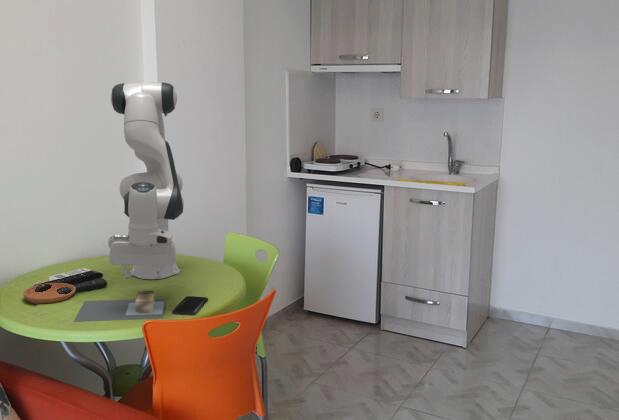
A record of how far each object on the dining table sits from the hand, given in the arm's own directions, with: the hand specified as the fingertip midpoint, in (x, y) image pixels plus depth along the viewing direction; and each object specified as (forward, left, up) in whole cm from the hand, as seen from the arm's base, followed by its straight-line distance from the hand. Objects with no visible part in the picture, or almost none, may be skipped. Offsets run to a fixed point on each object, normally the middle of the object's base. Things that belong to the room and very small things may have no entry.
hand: (143, 277), depth 192 cm
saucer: (-14, -32, -11) cm, 36 cm away
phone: (-1, +14, -11) cm, 18 cm away
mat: (+1, -7, -11) cm, 12 cm away
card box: (+1, 0, -10) cm, 10 cm away
